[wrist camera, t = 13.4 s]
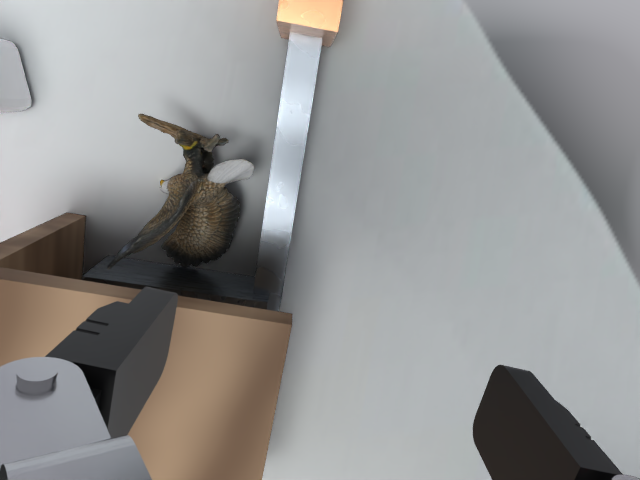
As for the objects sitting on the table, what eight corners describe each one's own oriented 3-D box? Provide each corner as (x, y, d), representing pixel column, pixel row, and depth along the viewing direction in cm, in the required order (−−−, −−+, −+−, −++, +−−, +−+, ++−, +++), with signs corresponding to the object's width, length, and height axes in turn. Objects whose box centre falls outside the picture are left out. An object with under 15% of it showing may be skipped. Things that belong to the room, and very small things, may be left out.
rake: (345, -45, 27) (357, -85, 22) (286, 309, 33) (284, 352, 27) (126, -90, 26) (78, -145, 20) (106, 284, 32) (64, 323, 26)
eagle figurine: (118, 112, 28) (87, 258, 29) (159, 111, 23) (119, 291, 23) (231, 146, 33) (203, 270, 33) (287, 152, 27) (252, 300, 28)
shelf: (294, 251, 32) (291, 325, 21) (255, 458, 36) (237, 605, 26) (66, 212, 31) (-59, 269, 20) (55, 432, 35) (-53, 576, 24)
